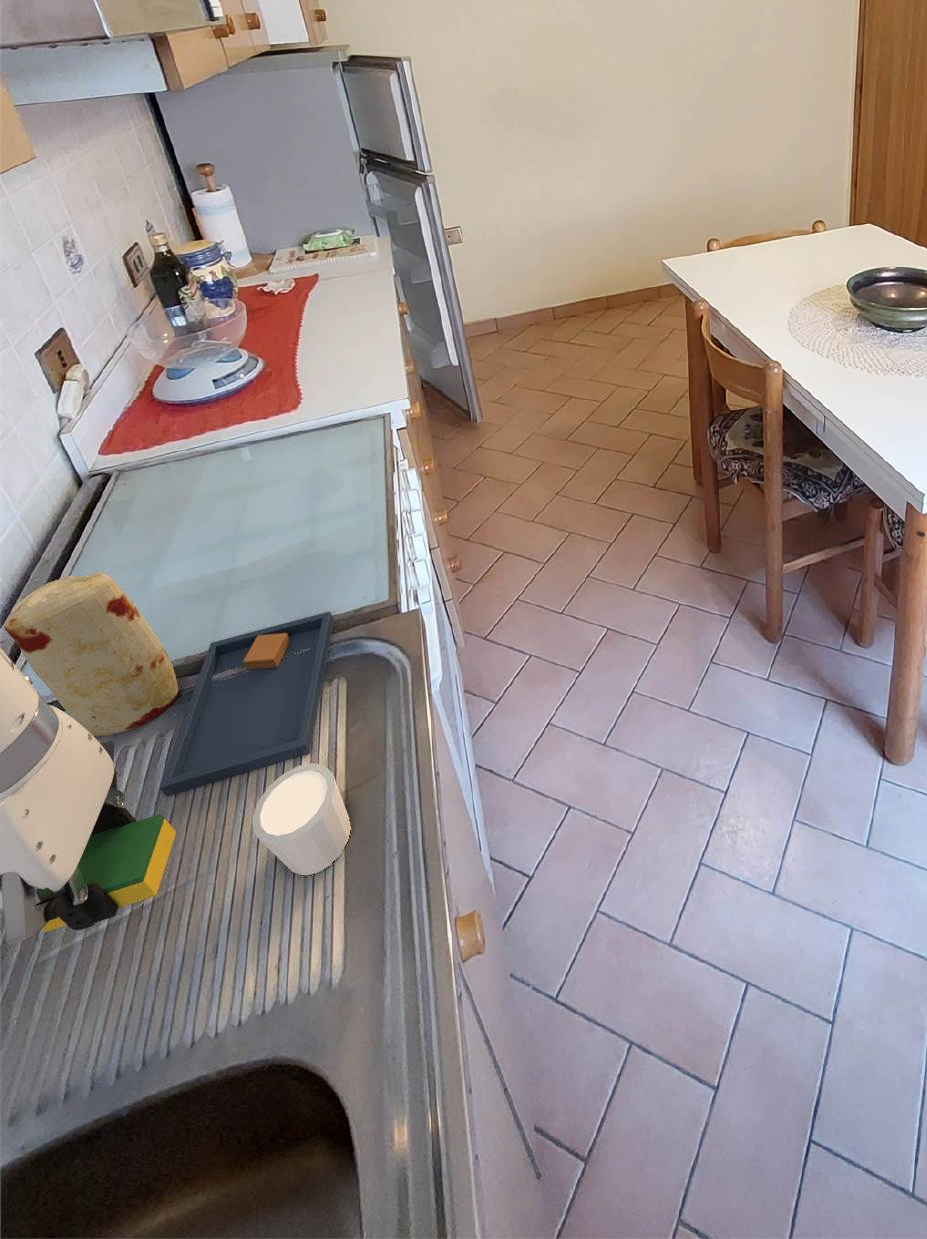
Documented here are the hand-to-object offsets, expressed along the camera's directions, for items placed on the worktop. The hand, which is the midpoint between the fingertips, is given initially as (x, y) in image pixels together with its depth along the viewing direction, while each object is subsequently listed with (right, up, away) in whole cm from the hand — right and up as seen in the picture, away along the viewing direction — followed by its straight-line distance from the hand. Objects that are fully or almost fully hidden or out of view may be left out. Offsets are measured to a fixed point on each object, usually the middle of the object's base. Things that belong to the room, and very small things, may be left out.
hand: (110, 877), depth 60 cm
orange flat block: (-2, +7, +26) cm, 27 cm away
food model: (-13, +2, +22) cm, 26 cm away
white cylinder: (+13, -3, +8) cm, 16 cm away
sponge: (0, 0, 0) cm, 0 cm away
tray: (0, +3, +22) cm, 22 cm away
